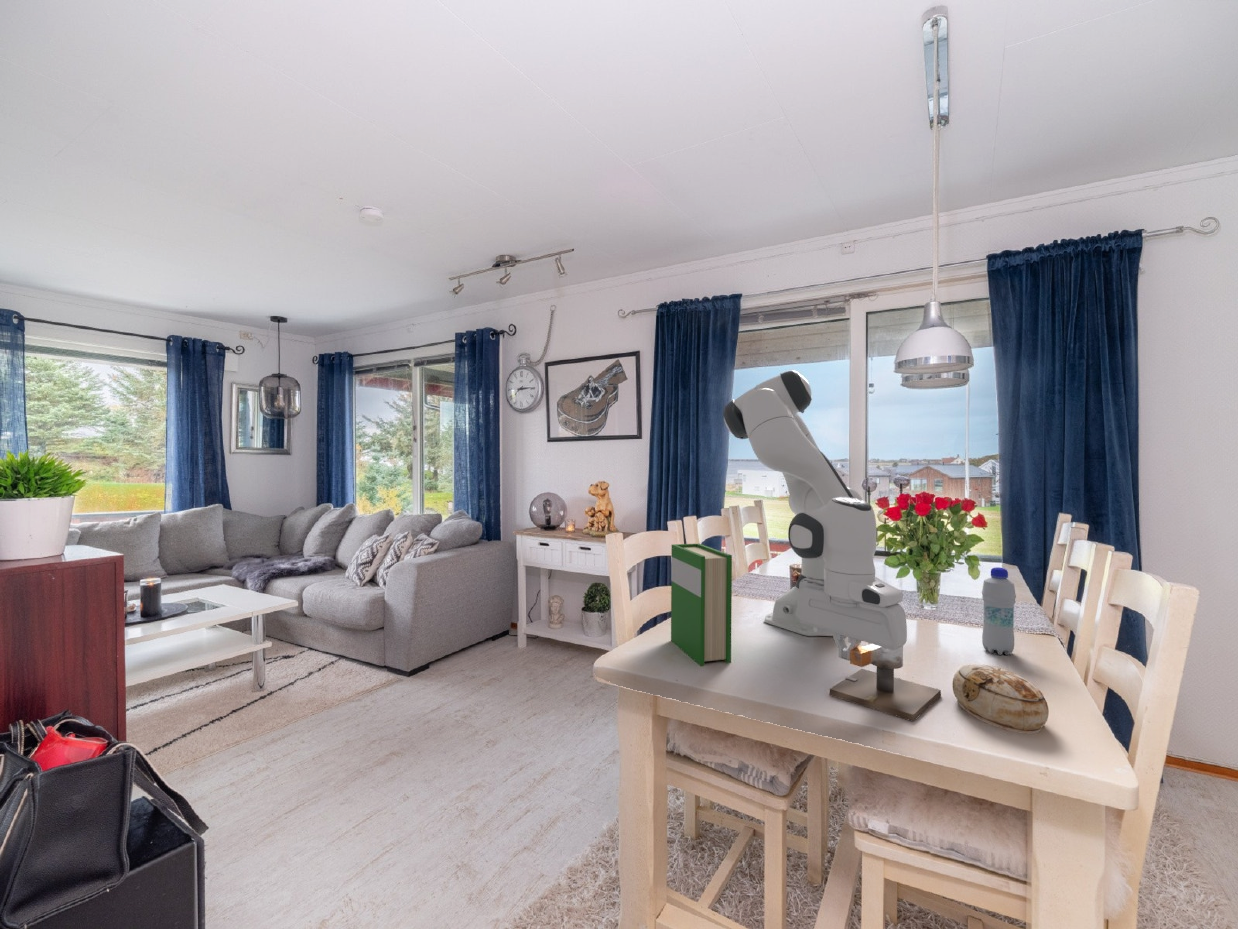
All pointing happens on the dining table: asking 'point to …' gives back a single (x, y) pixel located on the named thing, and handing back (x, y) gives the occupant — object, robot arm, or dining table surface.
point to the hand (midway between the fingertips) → (846, 658)
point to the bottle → (998, 612)
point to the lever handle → (877, 656)
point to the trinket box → (1000, 698)
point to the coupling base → (886, 693)
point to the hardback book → (701, 602)
